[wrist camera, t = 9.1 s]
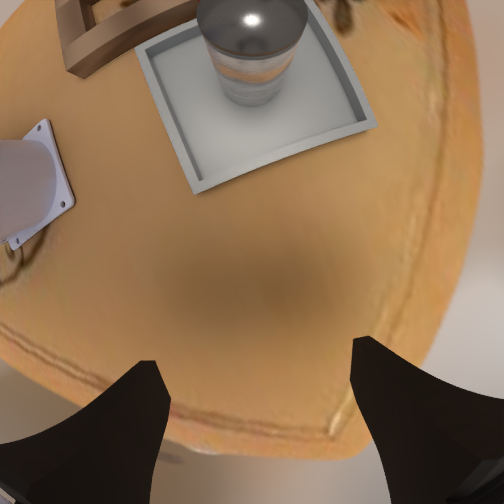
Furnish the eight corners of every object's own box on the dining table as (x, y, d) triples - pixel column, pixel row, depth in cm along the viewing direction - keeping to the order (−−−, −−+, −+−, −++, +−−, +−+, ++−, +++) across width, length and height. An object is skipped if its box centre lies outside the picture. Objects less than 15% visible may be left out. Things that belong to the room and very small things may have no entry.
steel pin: (282, 108, 16) (309, 56, 8) (218, 106, 16) (191, 53, 7) (283, 54, 15) (305, -20, 6) (221, 52, 14) (202, -23, 6)
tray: (200, 192, 18) (193, 195, 16) (144, 57, 15) (134, 48, 13) (366, 130, 16) (378, 126, 15) (300, 3, 14) (305, -11, 12)
